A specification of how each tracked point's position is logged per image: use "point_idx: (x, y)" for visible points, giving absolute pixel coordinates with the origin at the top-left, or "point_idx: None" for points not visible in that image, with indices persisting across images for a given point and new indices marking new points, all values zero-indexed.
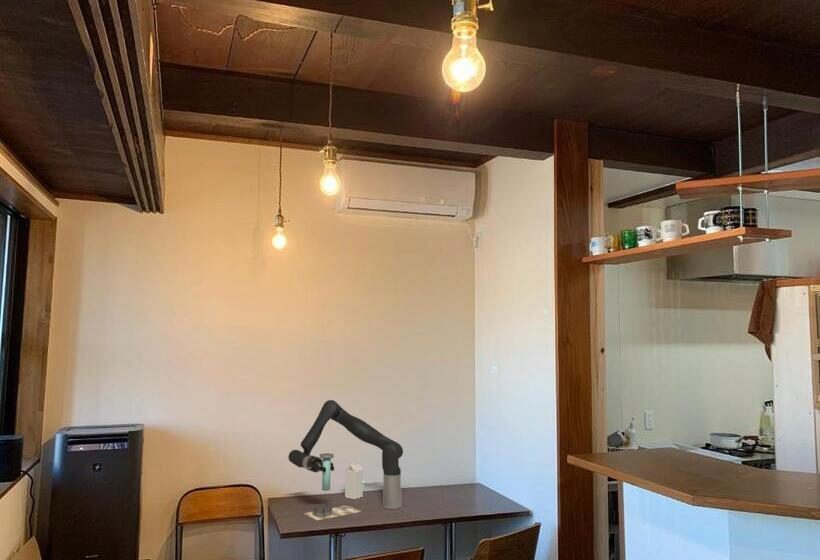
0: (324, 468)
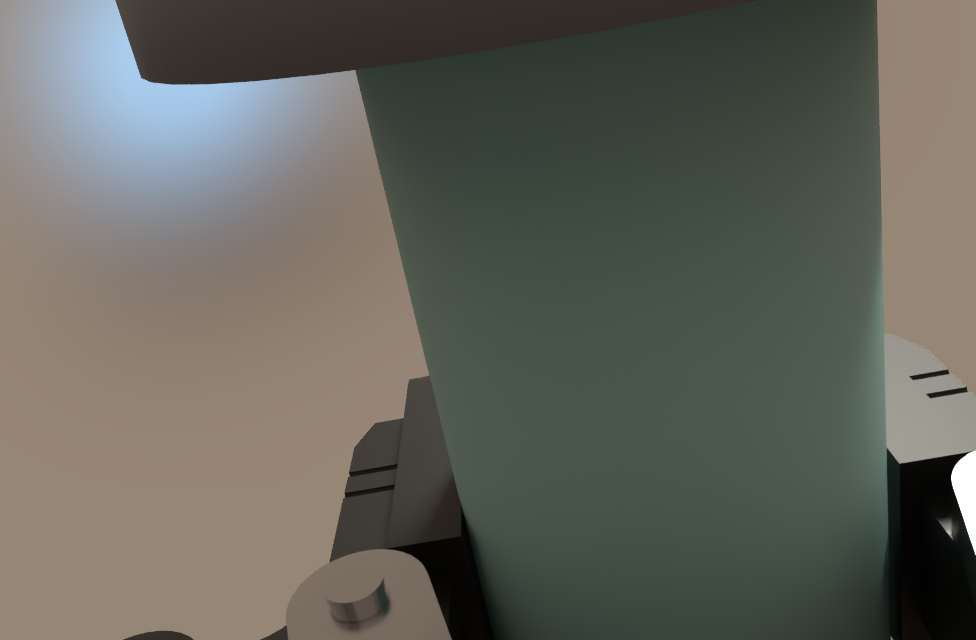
0: None
